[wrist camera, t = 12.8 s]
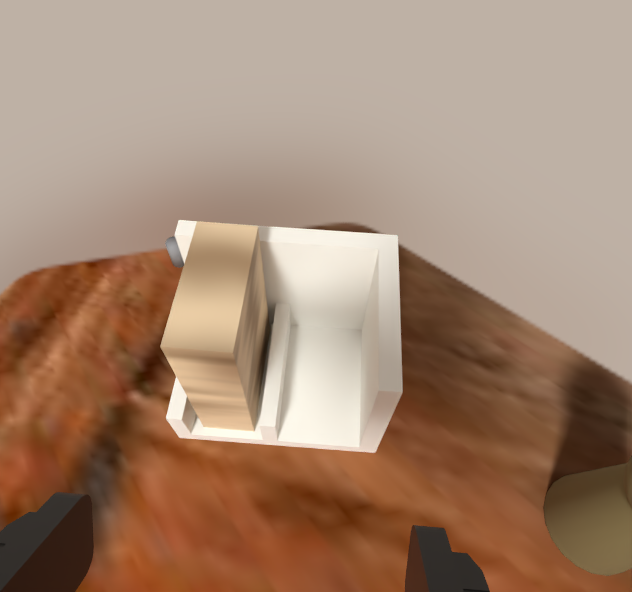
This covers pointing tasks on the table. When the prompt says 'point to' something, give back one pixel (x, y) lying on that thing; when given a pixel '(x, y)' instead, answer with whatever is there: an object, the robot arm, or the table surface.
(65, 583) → the robot arm
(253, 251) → the block
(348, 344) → the white open box
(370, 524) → the table surface
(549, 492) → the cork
